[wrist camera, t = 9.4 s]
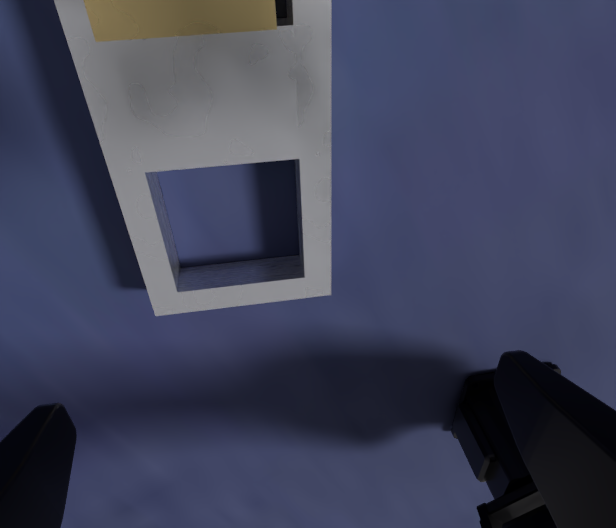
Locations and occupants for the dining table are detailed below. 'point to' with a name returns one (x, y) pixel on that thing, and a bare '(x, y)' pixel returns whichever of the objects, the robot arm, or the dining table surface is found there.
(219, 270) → the rail
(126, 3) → the golden block
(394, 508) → the dining table surface
